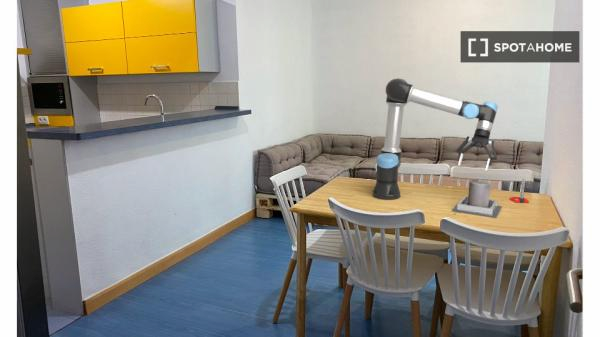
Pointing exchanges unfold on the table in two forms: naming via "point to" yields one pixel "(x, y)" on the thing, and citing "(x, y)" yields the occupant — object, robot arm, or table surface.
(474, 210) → the square socket
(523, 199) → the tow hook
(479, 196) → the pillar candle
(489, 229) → the table surface
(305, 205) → the table surface
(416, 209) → the table surface
